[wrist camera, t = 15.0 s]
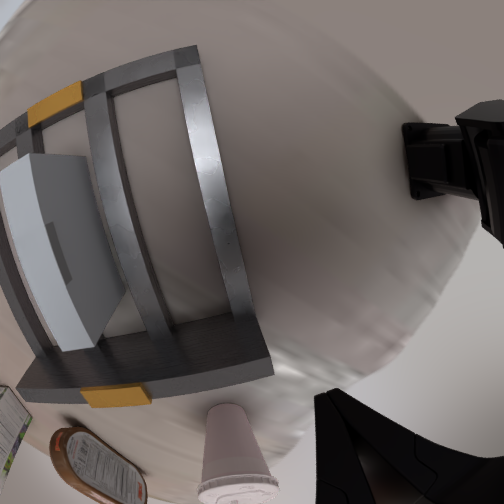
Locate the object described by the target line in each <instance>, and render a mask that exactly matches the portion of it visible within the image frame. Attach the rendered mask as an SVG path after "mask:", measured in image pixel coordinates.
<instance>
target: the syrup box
mask: <svg viewBox="0 0 504 504" xmlns="http://www.w3.org/2000/svg"><path fill="white" fill-rule="evenodd" d="M31 420H32V417H31V416H30V414H29V413H28V412H27V411H26V409H25V408H24V407H23V406H22V404H21V403H20V402H19V400H18V399H17V398H16V396H15V395H14V394H13V392H12V391H11V390H10V388H9V387H4V386H0V495H1V492H2V489H3V486H4V483H5V481H6V478H7V475H8V472H9V470H10V467H11V464H12V462H13V460H14V457H15V455H16V453H17V450H18V448H19V446H20V443H21V441H22V439H23V437H24V435H25V433H26V431H27V429H28V426H29V424H30V422H31Z"/></svg>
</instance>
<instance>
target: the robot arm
mask: <svg viewBox="0 0 504 504" xmlns="http://www.w3.org/2000/svg"><path fill="white" fill-rule="evenodd" d="M455 120H456V122H457V125H459V126H449V125H448V124H435V123H434V124H433V123H404V124H403V133H404V139H405V145H406V152H407V159H408V166H409V175H410V185H411V195H412V198H413V199H415V200H421V199H426V198H431V197H435V196H440V195H445V194H450V195H455V196H460V197H465V198H469V199H474V200H478V201H479V204H480V210H481V217H482V219H481V224H482V227H483V228H484V229H485V230H486V231H488V232H489V233H490V234H492V235H493V236H494V237H495V238H496V239H497V240H499V241H500V243H502V244H503V248H504V100H493V101H486V102H480V103H478V104H476V105H474V106H473V107H471V108H469V109H468V110H466V111H465V112H463V113H461V114H459V115H458V116H456V117H455ZM408 127H409V130H408ZM416 193H417V196H416ZM314 408H315V432H316V502H315V504H504V456H500V457H494V458H483V457H477V456H473V455H469V454H466V453H463V452H459V451H456V450H453V449H450V448H447V447H444V446H442V445H439V444H436V443H434V442H432V441H430V440H428V439H426V438H424V437H422V436H420V435H418V434H415V433H414V432H412V431H410V430H408V429H407V428H405V427H403V426H401V425H399V424H397V423H396V422H394V421H392V420H390V419H389V418H387V417H385V416H383V415H381V414H380V413H378V412H376V411H375V410H373V409H371V408H370V407H368V406H366V405H365V404H363V403H361V402H360V401H358V400H356V399H355V398H353V397H352V396H350V395H348V394H347V393H345V392H343V391H342V390H340V389H339V388H334V389H332V390H329V391H327V392H326V393H325V392H324V393H321V394H318V395H315V396H314Z"/></svg>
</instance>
